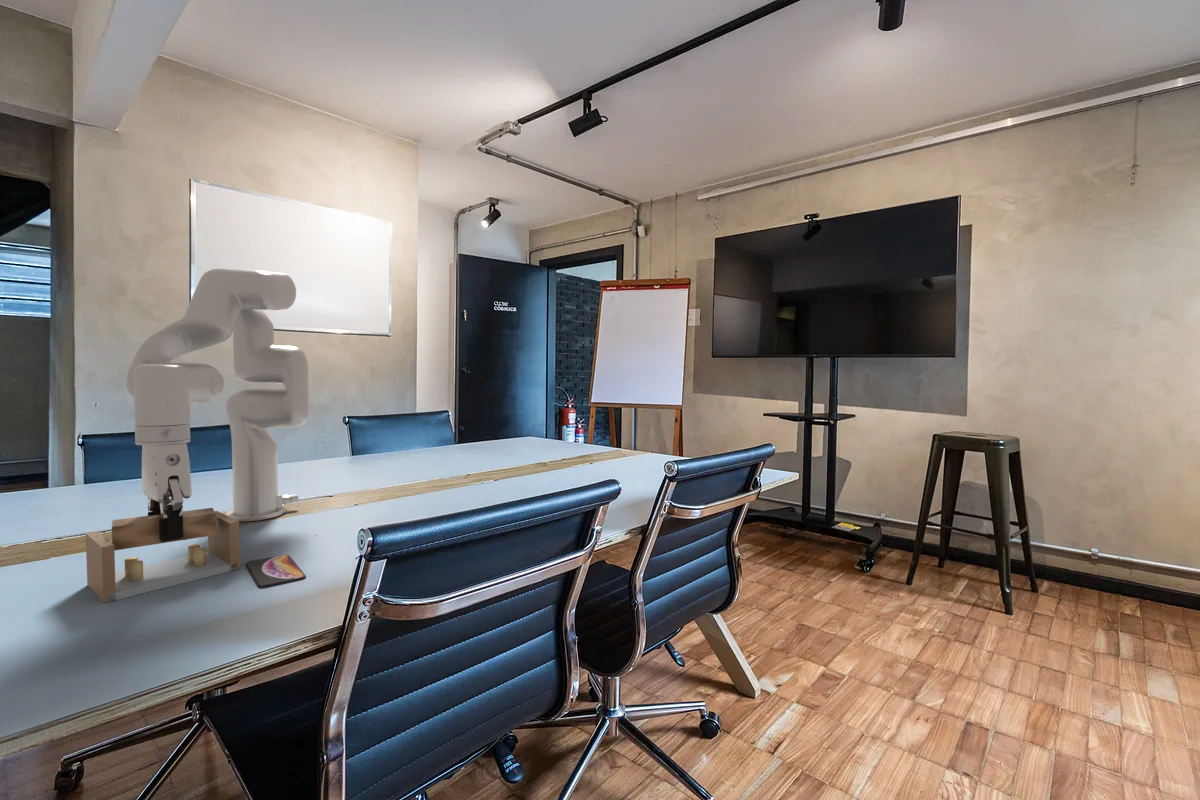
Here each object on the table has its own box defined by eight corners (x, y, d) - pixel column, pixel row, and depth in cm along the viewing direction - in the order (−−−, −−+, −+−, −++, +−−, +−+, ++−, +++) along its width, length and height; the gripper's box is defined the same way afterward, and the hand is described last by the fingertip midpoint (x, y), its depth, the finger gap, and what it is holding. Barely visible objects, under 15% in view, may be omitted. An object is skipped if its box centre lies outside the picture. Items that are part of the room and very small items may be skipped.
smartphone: (288, 553, 108) (307, 576, 97) (288, 557, 108) (307, 581, 97) (244, 561, 103) (258, 586, 92) (244, 565, 103) (258, 591, 92)
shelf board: (212, 528, 102) (212, 507, 102) (216, 535, 98) (215, 513, 98) (113, 543, 93) (112, 520, 93) (112, 550, 89) (111, 526, 89)
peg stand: (217, 555, 107) (216, 510, 106) (239, 568, 100) (239, 521, 100) (87, 585, 92) (85, 533, 91) (103, 603, 85) (101, 547, 85)
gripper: (206, 437, 92) (208, 541, 93) (173, 429, 103) (175, 522, 104) (151, 441, 86) (153, 552, 87) (122, 432, 97) (124, 531, 98)
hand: (165, 535), depth 96 cm, fingers closed on shelf board, 5 cm apart
